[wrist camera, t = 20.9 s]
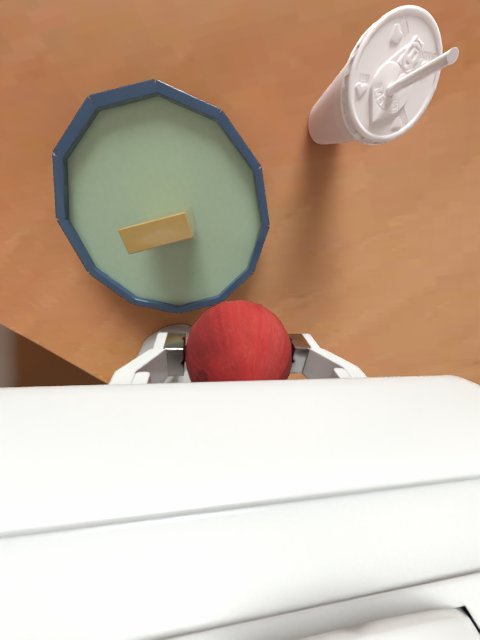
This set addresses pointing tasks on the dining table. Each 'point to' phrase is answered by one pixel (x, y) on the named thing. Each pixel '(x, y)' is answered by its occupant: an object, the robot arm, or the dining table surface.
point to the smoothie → (383, 81)
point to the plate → (160, 197)
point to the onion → (238, 345)
